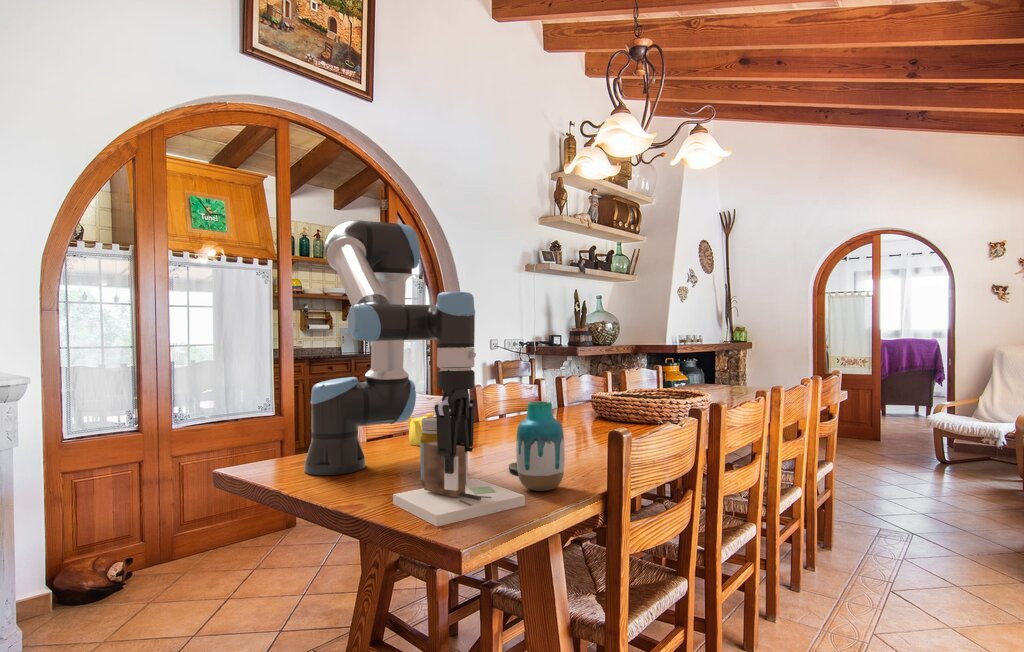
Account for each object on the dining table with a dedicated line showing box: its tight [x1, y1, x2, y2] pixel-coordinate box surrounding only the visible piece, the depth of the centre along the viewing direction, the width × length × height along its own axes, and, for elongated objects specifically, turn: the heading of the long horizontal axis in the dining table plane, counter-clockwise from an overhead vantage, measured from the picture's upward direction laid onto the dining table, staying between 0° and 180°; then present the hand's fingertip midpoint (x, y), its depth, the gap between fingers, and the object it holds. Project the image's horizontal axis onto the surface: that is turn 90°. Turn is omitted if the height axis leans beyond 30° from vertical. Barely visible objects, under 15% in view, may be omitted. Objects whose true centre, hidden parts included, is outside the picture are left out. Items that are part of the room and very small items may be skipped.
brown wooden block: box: [423, 442, 481, 500], centre depth 115 cm, size 14×4×10 cm, turn 52°
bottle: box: [419, 416, 437, 486], centre depth 133 cm, size 7×7×15 cm
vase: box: [515, 400, 566, 492], centre depth 126 cm, size 11×11×19 cm
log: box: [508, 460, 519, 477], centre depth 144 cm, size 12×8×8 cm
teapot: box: [407, 412, 434, 447], centre depth 183 cm, size 15×14×10 cm
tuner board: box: [392, 478, 526, 527], centre depth 116 cm, size 18×20×2 cm
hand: (456, 486), depth 114 cm, fingers closed on brown wooden block, 3 cm apart
